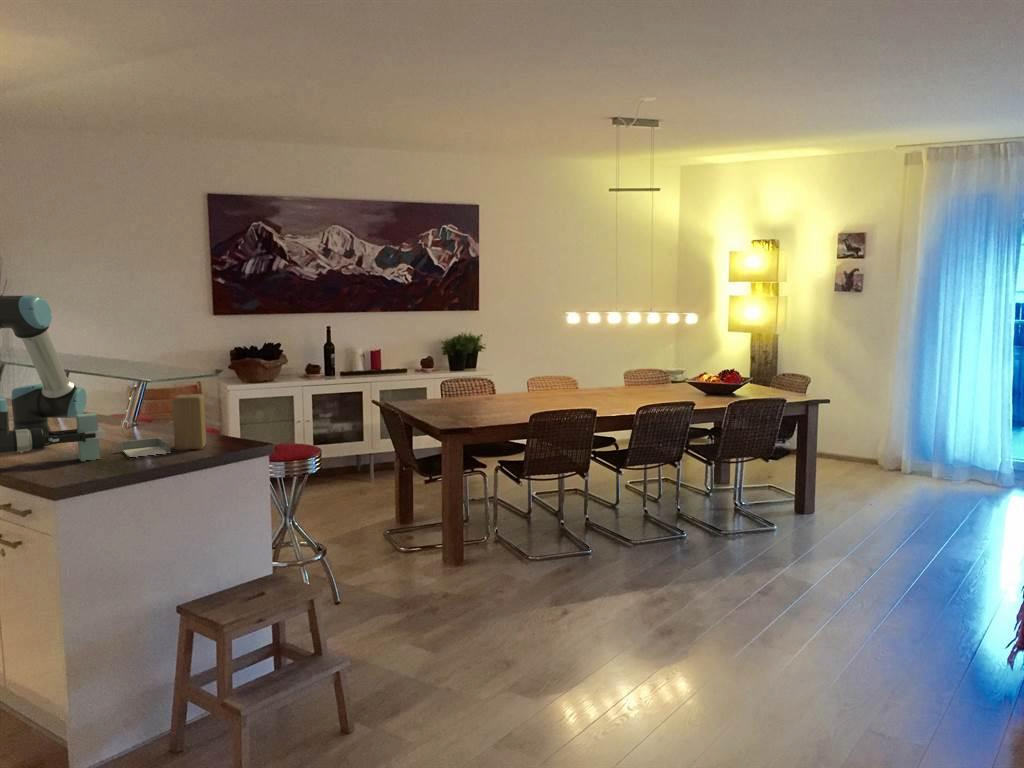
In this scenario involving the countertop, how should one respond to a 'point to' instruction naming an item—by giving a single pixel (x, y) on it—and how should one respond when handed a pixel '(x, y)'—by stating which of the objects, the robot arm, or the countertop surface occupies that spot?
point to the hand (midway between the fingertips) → (103, 432)
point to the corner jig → (145, 447)
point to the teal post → (90, 447)
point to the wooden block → (189, 421)
